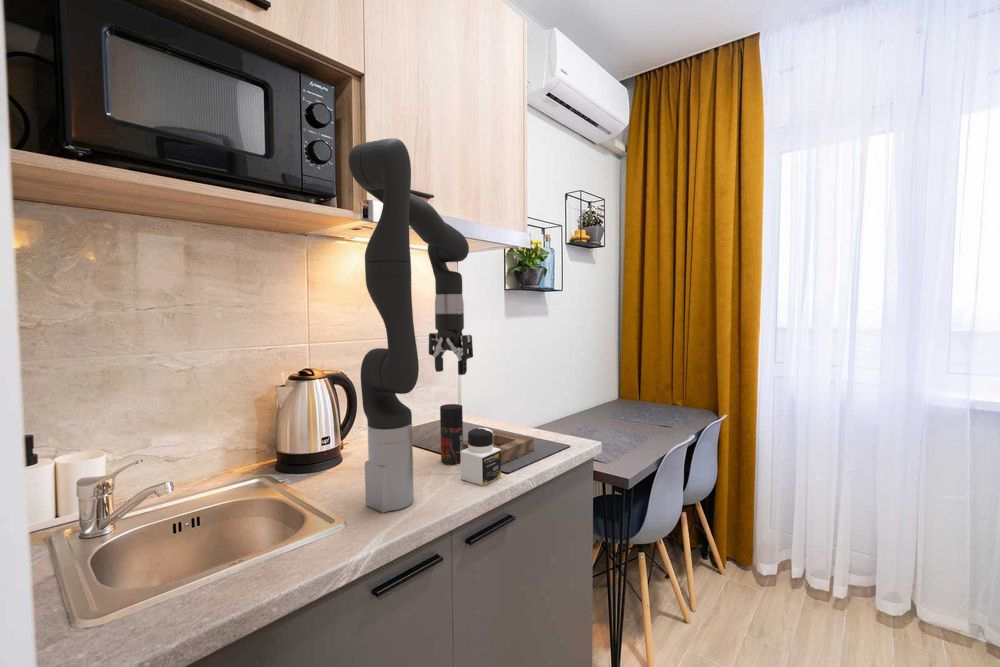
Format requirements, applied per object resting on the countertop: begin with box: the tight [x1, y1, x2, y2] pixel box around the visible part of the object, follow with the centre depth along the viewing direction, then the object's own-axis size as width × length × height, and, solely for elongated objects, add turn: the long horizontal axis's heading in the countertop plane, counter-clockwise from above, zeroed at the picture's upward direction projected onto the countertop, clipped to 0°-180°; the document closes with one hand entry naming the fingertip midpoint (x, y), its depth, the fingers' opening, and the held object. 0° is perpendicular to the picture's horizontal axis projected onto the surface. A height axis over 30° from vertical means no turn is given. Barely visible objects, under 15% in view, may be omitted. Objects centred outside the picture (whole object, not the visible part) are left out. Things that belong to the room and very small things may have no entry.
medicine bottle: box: [460, 427, 502, 486], centre depth 114 cm, size 7×7×12 cm
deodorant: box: [439, 403, 464, 466], centre depth 126 cm, size 6×6×15 cm
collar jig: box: [463, 429, 535, 463], centre depth 133 cm, size 16×14×4 cm
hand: (450, 373), depth 124 cm, fingers open, 8 cm apart
